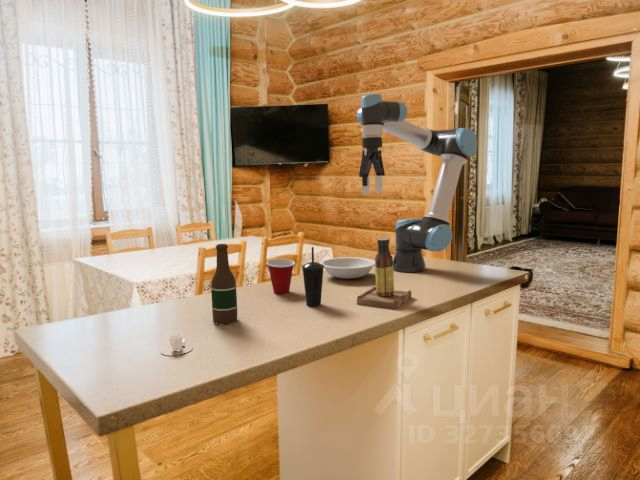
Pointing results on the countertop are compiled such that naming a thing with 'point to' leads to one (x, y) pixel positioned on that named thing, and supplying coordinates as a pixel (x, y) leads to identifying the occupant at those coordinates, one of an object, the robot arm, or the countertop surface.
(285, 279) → the plastic cup
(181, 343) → the teacup and saucer
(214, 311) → the beer bottle
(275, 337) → the countertop surface
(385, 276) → the sauce bottle
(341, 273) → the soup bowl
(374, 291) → the board
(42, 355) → the countertop surface
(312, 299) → the drinking cup
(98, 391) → the countertop surface
